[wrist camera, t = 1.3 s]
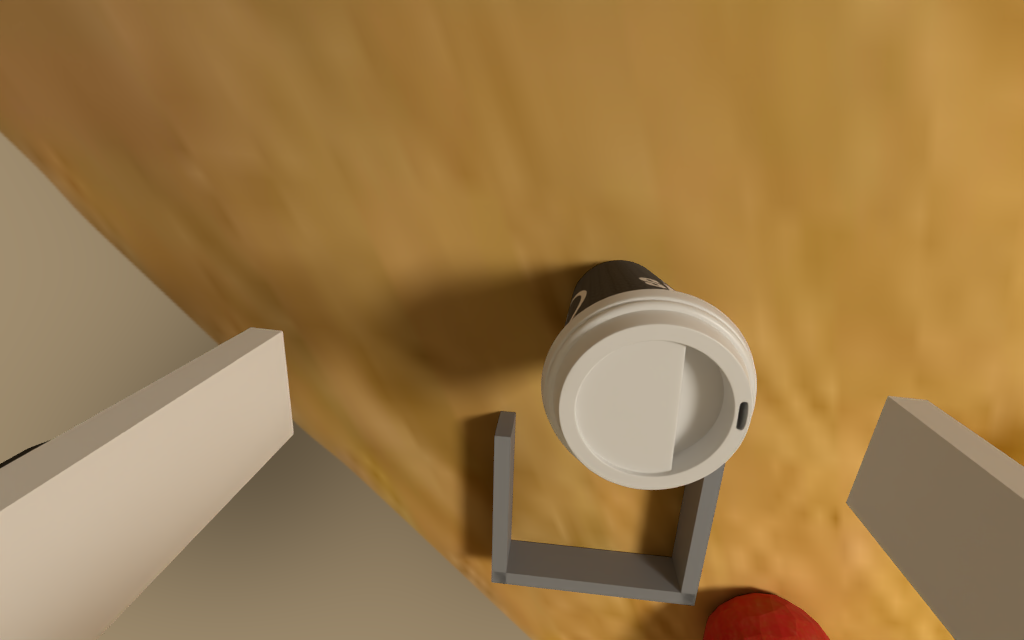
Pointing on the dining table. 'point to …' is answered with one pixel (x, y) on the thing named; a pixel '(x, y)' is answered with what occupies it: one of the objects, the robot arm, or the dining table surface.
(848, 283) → the dining table surface
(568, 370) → the coffee cup
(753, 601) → the apple
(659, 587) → the bay
